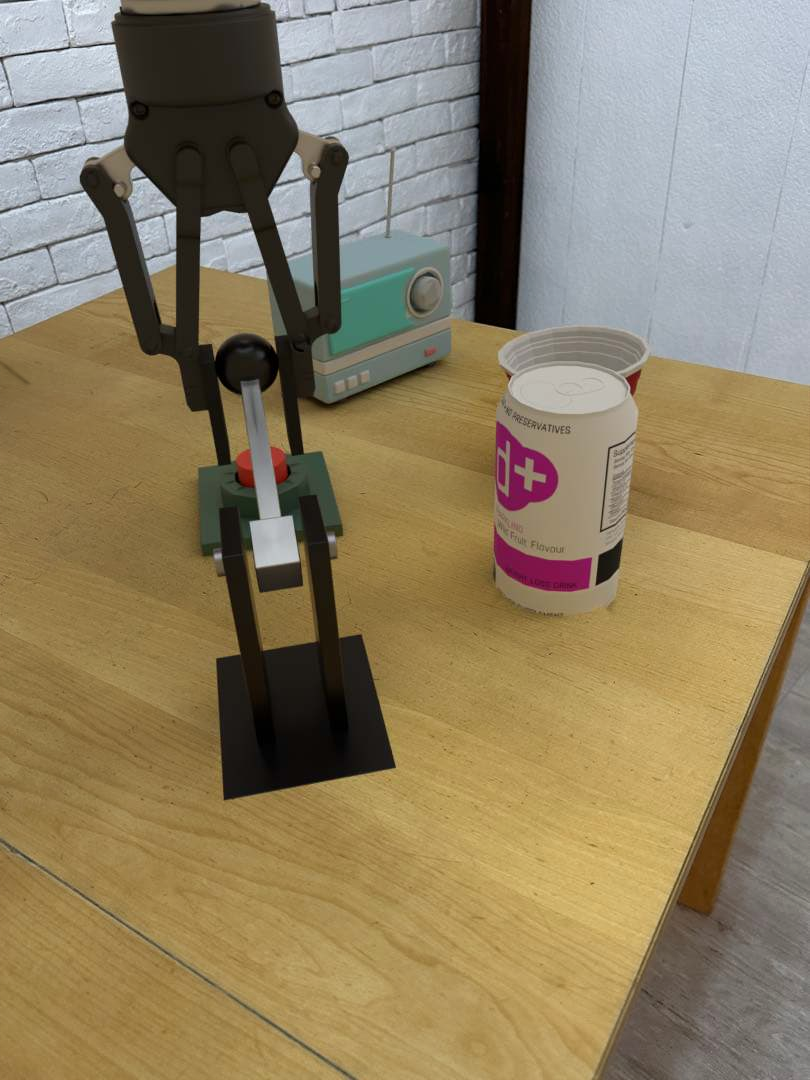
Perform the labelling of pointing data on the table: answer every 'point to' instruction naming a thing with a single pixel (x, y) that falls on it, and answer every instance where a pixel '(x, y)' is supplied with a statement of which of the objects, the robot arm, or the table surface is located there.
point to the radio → (379, 310)
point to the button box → (226, 491)
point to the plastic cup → (579, 350)
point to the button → (247, 473)
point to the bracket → (294, 681)
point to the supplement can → (562, 486)
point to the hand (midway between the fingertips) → (259, 448)
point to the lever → (261, 459)
